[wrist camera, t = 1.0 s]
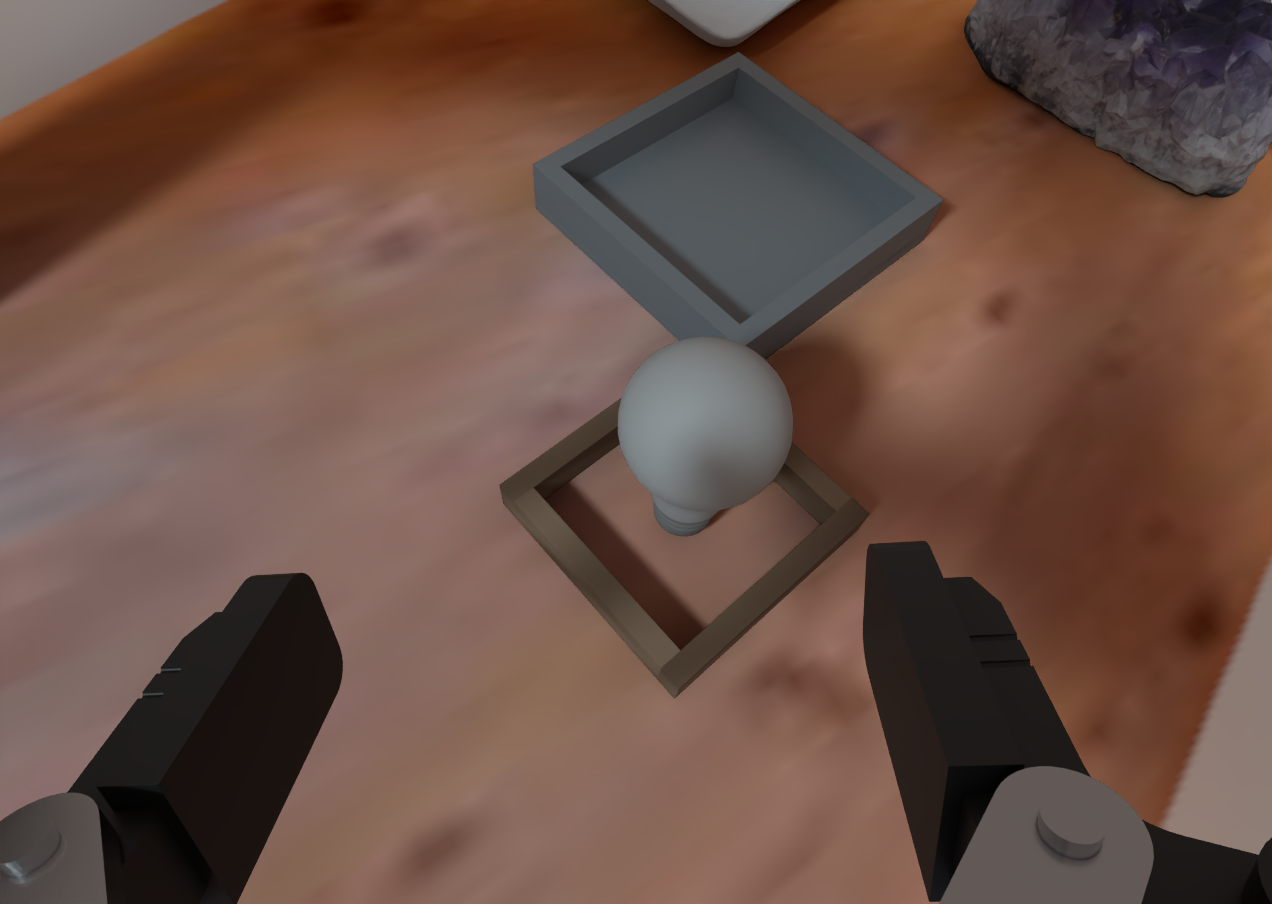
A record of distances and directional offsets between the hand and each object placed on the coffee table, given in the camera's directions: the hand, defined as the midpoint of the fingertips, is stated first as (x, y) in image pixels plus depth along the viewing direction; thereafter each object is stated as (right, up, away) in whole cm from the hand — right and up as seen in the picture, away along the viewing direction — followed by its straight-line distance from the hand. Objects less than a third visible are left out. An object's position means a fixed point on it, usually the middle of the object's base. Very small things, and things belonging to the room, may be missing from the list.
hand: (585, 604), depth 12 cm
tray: (+6, +15, +32) cm, 36 cm away
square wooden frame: (+3, -1, +23) cm, 24 cm away
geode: (+30, +24, +39) cm, 55 cm away
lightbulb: (+3, -1, +24) cm, 24 cm away
